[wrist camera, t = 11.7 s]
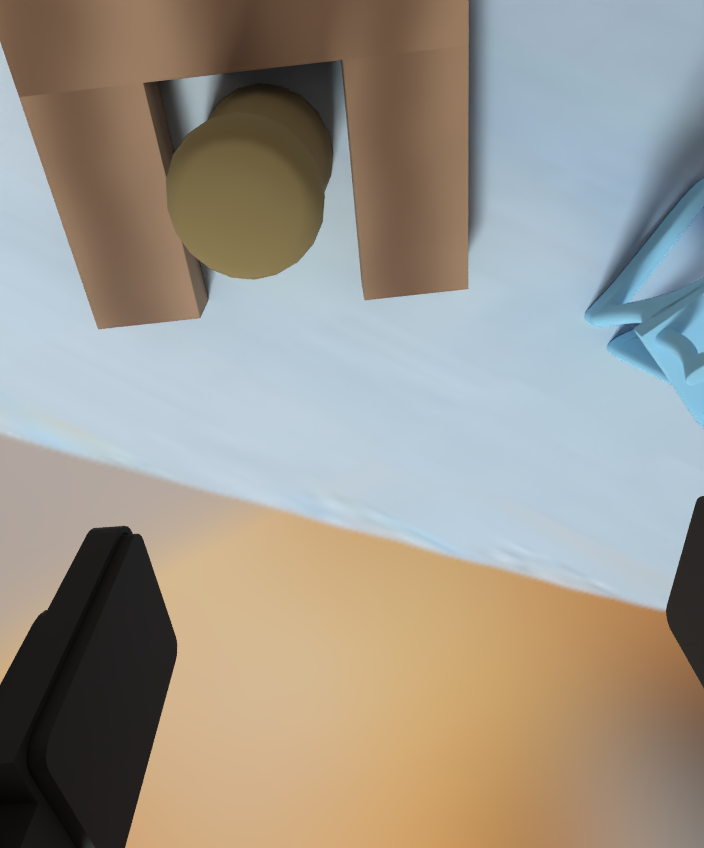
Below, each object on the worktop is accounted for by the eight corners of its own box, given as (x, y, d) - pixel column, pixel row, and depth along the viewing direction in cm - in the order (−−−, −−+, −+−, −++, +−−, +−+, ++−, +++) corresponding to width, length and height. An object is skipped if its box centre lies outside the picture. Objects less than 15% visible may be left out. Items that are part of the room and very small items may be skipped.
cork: (176, 116, 27) (101, 150, 18) (301, 59, 26) (291, 65, 17) (237, 243, 30) (200, 329, 21) (351, 196, 29) (366, 265, 20)
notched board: (455, -73, 24) (468, -85, 22) (458, 272, 32) (468, 288, 29) (7, -20, 24) (-23, -27, 22) (113, 310, 32) (98, 329, 30)
